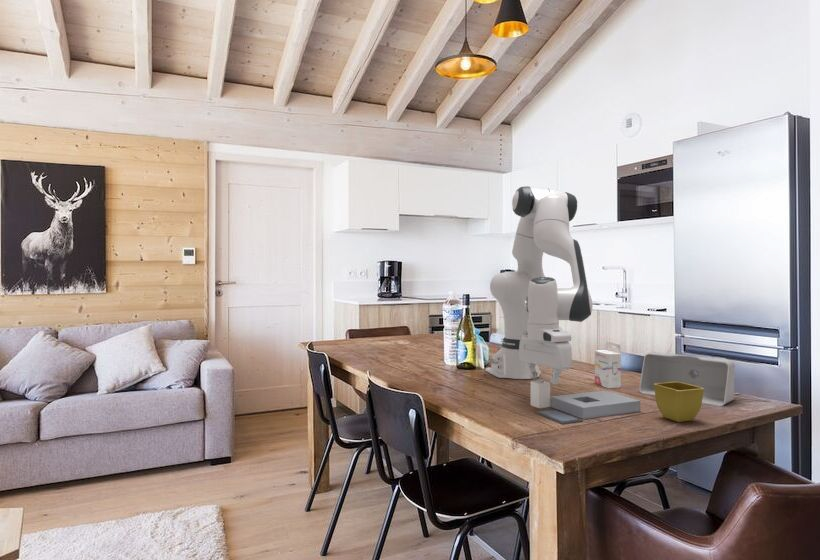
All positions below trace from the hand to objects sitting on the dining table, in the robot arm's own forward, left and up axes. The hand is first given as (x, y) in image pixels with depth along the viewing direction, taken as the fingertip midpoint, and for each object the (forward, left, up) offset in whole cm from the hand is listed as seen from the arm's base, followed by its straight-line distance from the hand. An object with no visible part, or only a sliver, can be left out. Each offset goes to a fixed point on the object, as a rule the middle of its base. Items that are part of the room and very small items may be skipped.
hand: (543, 380), depth 157 cm
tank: (+6, +51, -8) cm, 52 cm away
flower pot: (+25, +24, -8) cm, 36 cm away
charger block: (-1, -1, -8) cm, 8 cm away
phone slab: (+11, -4, -8) cm, 14 cm away
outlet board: (+8, +11, -7) cm, 16 cm away
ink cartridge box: (-15, +37, -8) cm, 41 cm away
